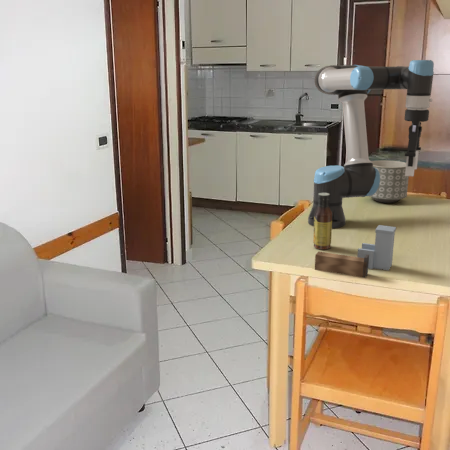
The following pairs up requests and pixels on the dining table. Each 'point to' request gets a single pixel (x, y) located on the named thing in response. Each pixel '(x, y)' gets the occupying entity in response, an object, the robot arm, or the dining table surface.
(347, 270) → the rail
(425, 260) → the dining table surface
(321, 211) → the sauce bottle
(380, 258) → the grey notched block
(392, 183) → the planter
